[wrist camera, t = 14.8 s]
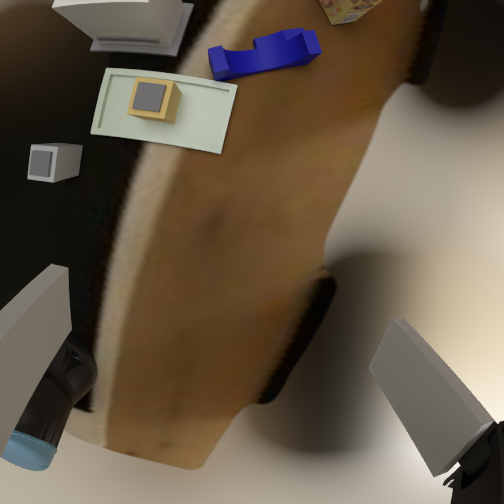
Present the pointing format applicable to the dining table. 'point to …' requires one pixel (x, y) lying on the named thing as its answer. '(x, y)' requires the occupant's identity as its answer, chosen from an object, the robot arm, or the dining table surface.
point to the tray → (187, 118)
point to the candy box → (346, 9)
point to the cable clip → (265, 54)
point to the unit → (130, 24)
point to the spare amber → (154, 100)
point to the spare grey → (54, 161)
